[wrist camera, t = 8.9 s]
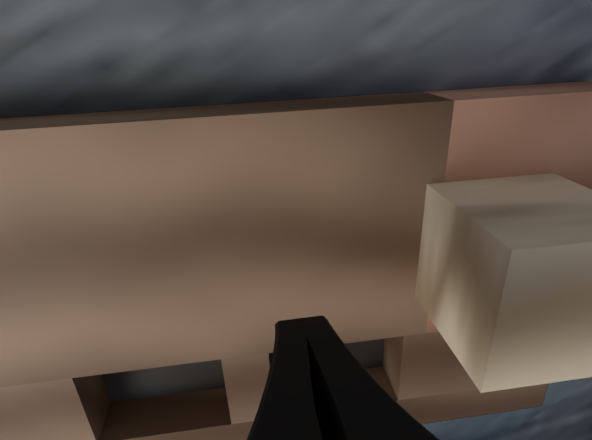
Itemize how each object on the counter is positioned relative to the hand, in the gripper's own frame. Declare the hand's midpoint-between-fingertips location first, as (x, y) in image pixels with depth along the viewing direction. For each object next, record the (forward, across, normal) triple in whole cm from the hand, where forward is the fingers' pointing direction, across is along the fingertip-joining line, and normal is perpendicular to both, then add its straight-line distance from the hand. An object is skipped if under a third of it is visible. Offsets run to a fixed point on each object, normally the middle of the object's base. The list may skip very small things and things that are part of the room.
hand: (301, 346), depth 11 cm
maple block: (+4, -8, 0) cm, 9 cm away
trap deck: (+7, +1, +2) cm, 8 cm away
